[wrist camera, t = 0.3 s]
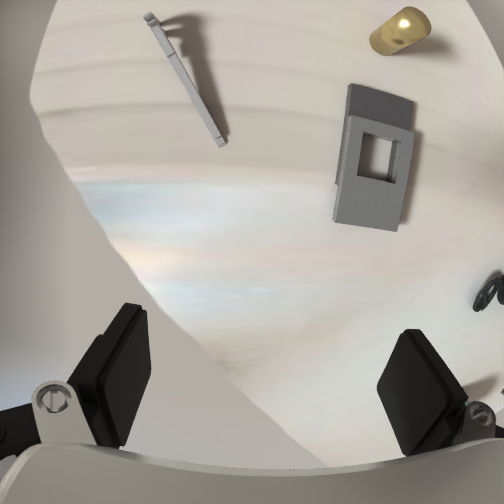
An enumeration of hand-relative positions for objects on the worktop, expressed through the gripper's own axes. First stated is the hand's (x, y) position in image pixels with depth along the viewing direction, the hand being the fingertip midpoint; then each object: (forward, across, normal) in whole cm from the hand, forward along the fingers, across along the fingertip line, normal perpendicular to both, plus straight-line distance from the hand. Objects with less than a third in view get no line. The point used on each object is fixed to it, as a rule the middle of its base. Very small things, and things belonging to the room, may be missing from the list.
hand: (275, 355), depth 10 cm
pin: (+30, -14, -25) cm, 42 cm away
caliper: (+31, +11, -15) cm, 36 cm away
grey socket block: (+30, -14, -8) cm, 34 cm away
